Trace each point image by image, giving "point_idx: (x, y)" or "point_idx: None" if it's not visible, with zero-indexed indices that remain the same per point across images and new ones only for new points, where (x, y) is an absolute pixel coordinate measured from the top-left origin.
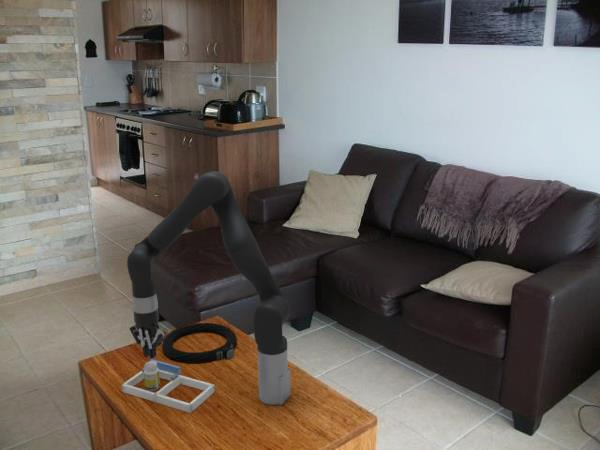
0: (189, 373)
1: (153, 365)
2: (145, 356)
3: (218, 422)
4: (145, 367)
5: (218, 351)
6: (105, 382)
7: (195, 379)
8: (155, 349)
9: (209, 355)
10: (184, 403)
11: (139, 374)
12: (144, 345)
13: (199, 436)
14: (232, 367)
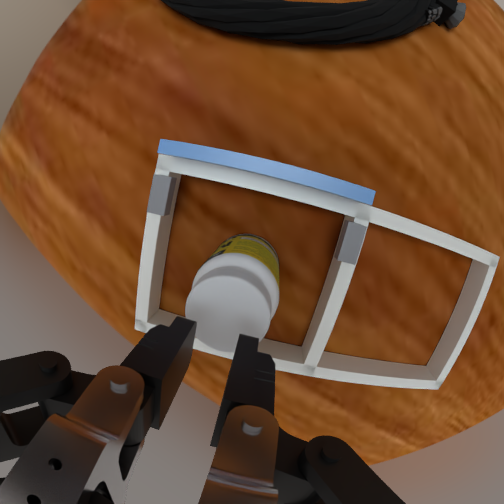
0: (364, 125)
1: (254, 329)
2: (185, 371)
3: (484, 378)
4: (208, 343)
5: (428, 4)
6: (68, 265)
7: (440, 231)
8: (271, 408)
9: (409, 22)
10: (422, 385)
11: (156, 238)
12: (144, 437)
13: (444, 426)
14: (483, 82)
